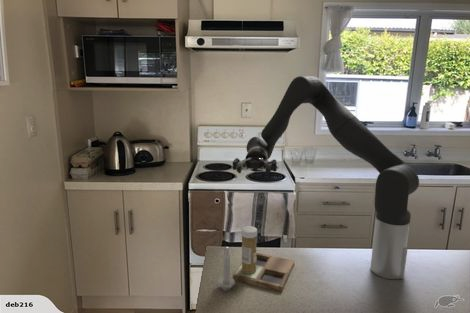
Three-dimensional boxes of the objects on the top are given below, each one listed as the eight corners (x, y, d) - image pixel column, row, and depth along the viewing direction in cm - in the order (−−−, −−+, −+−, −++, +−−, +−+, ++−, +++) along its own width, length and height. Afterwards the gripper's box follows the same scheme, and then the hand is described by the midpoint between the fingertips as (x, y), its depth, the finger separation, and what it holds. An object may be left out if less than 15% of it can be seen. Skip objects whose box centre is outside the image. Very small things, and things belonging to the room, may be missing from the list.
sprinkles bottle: (259, 271, 101) (260, 229, 98) (246, 276, 99) (247, 233, 96) (250, 264, 105) (251, 224, 102) (238, 268, 103) (238, 227, 99)
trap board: (294, 264, 108) (294, 259, 108) (282, 291, 95) (282, 286, 94) (250, 255, 114) (250, 250, 113) (232, 279, 100) (232, 274, 100)
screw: (215, 285, 97) (230, 281, 99) (221, 295, 93) (237, 290, 95) (214, 244, 94) (230, 240, 96) (221, 252, 90) (238, 248, 92)
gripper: (236, 147, 121) (230, 158, 105) (277, 148, 119) (276, 159, 103) (236, 167, 122) (230, 181, 107) (276, 169, 120) (276, 183, 105)
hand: (253, 170), depth 105 cm, fingers open, 8 cm apart
